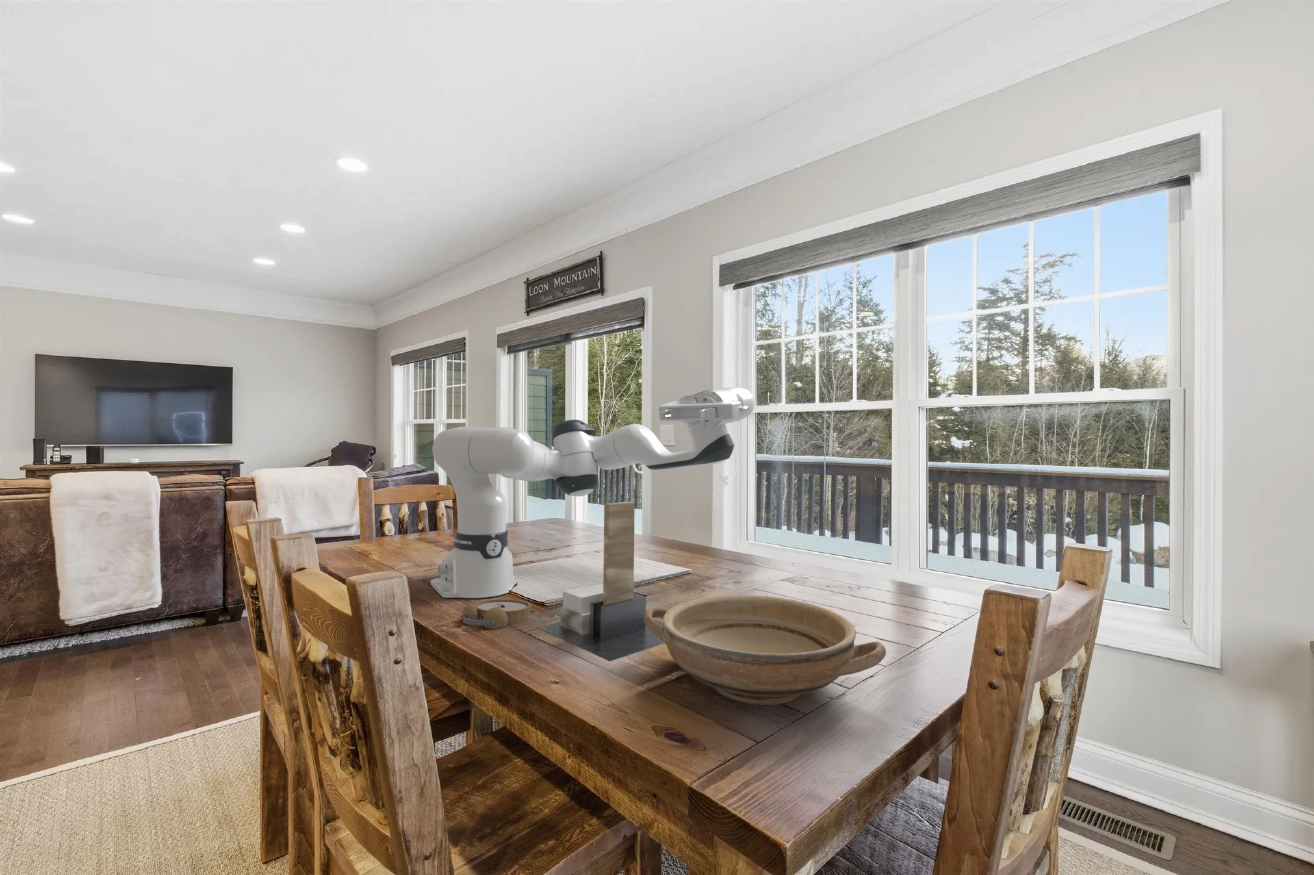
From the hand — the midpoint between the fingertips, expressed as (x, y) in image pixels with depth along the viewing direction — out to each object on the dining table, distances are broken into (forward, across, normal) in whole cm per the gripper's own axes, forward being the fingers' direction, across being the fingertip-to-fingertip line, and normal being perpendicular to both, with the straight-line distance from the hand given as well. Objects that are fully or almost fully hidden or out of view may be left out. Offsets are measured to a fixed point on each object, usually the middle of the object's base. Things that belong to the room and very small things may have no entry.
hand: (680, 415), depth 131 cm
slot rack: (+30, -3, -38) cm, 49 cm away
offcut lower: (+29, +4, -37) cm, 47 cm away
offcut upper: (+29, +4, -34) cm, 45 cm away
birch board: (+30, -3, -37) cm, 48 cm away
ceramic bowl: (+34, -33, -38) cm, 60 cm away
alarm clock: (+40, +21, -37) cm, 58 cm away
